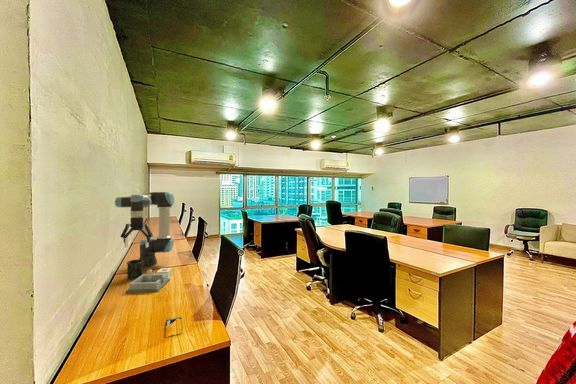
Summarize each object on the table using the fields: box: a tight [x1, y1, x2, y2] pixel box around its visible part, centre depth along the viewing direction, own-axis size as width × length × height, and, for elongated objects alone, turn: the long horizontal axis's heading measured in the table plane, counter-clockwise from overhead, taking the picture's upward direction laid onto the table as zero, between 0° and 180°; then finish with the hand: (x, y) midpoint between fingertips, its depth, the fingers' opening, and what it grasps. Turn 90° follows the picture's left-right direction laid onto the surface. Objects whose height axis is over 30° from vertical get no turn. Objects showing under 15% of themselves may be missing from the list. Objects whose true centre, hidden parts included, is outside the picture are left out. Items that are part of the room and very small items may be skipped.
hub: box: [155, 267, 173, 279], centre depth 182 cm, size 13×8×6 cm, turn 6°
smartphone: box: [164, 316, 182, 326], centre depth 116 cm, size 7×1×15 cm
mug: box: [126, 259, 144, 280], centre depth 179 cm, size 11×15×12 cm
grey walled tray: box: [125, 273, 171, 294], centre depth 164 cm, size 20×20×5 cm
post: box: [146, 268, 153, 282], centre depth 164 cm, size 3×3×10 cm
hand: (136, 247), depth 165 cm, fingers open, 13 cm apart
